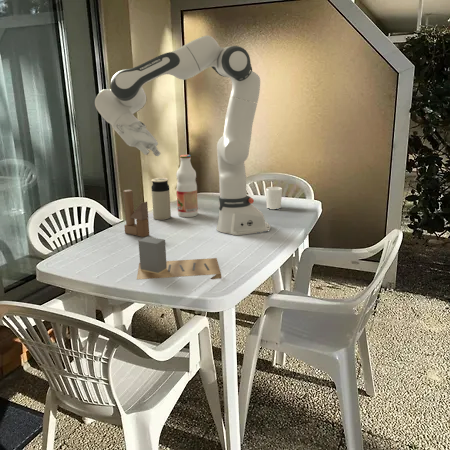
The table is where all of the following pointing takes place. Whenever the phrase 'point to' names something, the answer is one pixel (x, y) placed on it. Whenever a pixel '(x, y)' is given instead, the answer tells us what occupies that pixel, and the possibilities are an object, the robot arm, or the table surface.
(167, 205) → the travel mug
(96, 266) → the table surface
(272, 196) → the white cup
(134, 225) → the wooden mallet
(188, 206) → the fruit juice
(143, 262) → the block
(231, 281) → the table surface
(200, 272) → the oak board
